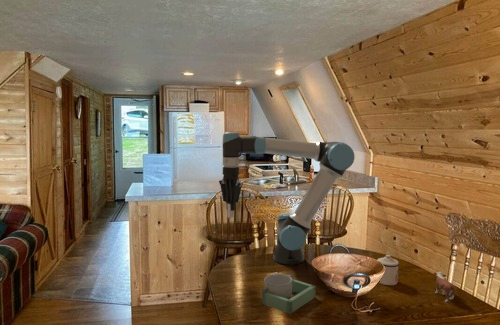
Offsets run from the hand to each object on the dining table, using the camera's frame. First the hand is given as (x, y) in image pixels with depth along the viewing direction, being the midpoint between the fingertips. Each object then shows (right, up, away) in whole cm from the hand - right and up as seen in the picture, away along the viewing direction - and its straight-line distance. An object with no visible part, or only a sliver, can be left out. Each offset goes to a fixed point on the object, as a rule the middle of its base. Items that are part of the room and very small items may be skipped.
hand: (230, 217), depth 178 cm
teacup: (+20, -28, -27) cm, 43 cm away
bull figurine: (+86, -28, -25) cm, 93 cm away
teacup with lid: (+68, -26, -10) cm, 74 cm away
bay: (+24, -28, -30) cm, 47 cm away
